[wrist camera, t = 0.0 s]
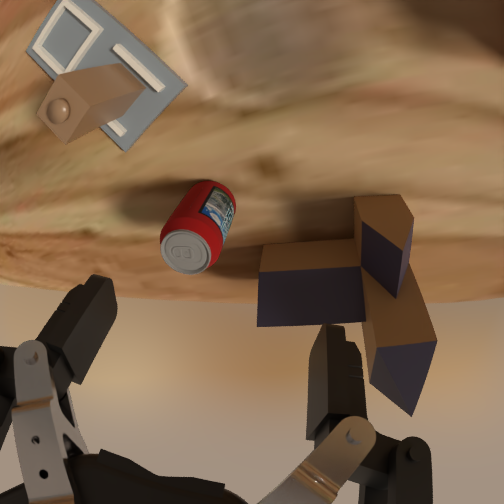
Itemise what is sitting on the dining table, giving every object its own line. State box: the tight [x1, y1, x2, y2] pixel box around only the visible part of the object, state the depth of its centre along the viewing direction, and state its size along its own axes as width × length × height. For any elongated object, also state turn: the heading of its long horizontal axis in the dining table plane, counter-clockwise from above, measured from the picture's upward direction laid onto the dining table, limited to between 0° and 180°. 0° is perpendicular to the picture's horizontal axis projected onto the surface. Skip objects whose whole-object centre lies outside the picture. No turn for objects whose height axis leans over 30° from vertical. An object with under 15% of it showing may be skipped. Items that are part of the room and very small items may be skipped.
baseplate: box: [26, 0, 188, 152], centre depth 26 cm, size 24×12×14 cm, turn 42°
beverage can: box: [160, 181, 236, 275], centre depth 37 cm, size 7×7×12 cm
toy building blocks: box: [257, 195, 437, 417], centre depth 33 cm, size 12×19×25 cm
